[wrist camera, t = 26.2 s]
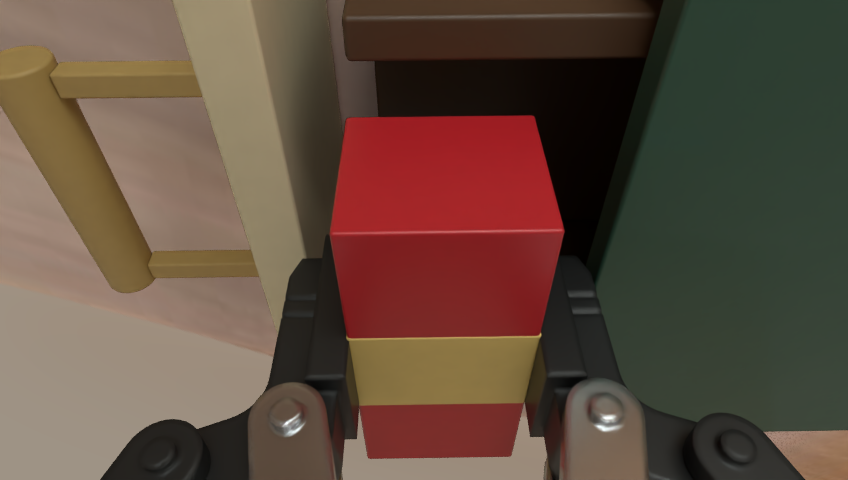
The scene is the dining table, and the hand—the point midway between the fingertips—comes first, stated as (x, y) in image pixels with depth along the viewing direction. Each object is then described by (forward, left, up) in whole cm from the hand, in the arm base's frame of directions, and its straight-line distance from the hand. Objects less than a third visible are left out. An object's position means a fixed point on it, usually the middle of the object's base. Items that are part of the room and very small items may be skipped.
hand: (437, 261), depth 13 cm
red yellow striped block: (0, 0, 0) cm, 0 cm away
